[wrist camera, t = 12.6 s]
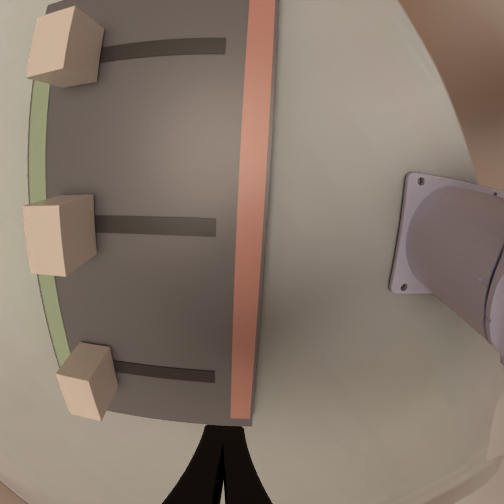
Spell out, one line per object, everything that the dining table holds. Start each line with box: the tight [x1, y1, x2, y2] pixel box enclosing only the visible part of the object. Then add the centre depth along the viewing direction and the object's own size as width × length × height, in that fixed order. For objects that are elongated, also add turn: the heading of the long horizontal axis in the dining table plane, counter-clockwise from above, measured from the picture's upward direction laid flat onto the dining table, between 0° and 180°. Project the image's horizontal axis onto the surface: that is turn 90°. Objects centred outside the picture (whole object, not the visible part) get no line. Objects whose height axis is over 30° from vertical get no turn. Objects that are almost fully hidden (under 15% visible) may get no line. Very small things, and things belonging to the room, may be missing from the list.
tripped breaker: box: [26, 6, 104, 88], centre depth 12 cm, size 2×4×4 cm
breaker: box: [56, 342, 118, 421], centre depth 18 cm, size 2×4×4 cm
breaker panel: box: [28, 0, 279, 426], centre depth 18 cm, size 15×30×2 cm, turn 177°
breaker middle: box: [23, 194, 97, 277], centre depth 15 cm, size 2×4×4 cm
